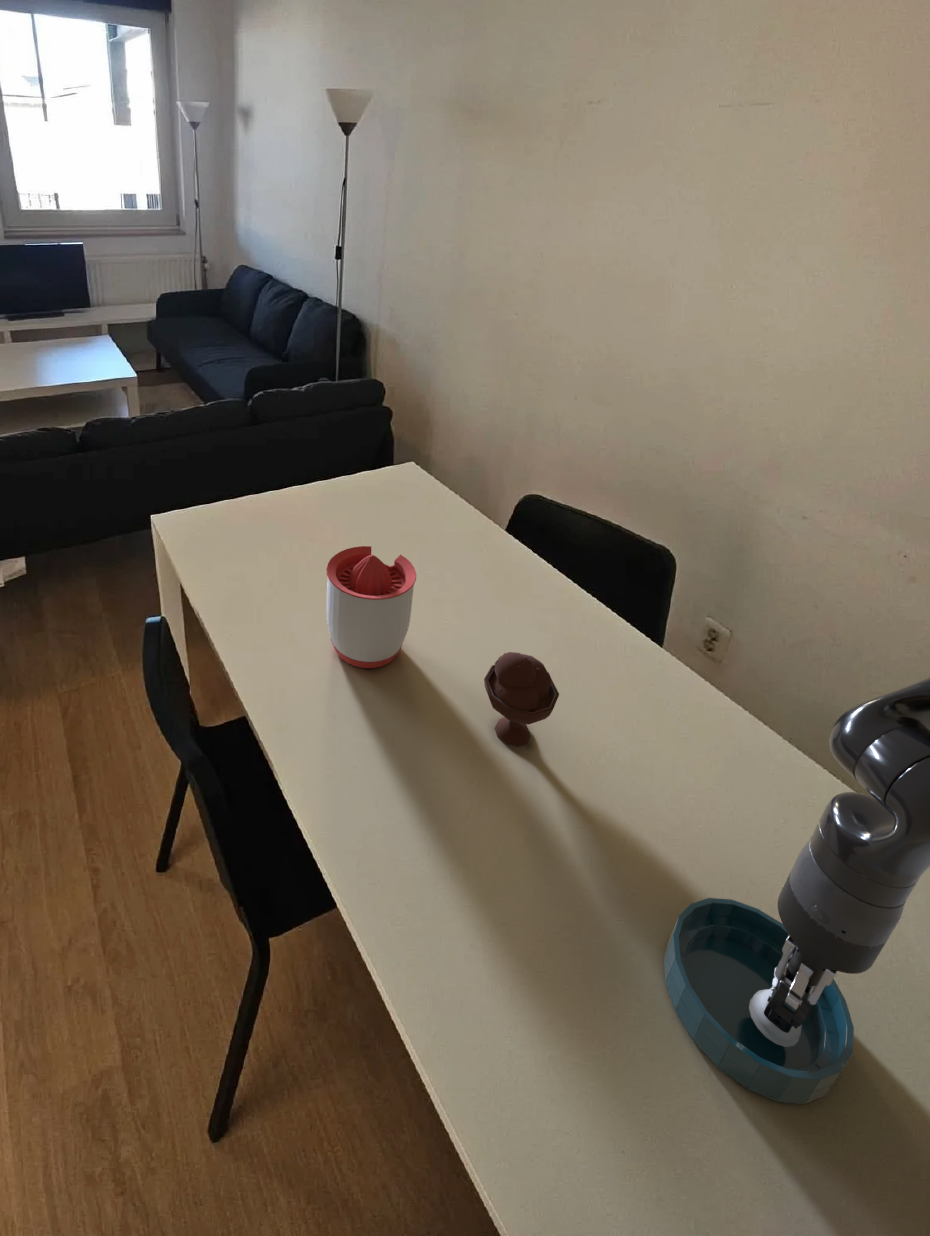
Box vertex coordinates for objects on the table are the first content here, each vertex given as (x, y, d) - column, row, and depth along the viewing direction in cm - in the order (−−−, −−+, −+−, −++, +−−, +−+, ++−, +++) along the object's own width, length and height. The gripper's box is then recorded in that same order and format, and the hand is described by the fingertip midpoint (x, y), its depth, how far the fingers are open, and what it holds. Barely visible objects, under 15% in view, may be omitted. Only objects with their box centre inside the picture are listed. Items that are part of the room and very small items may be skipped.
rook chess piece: (756, 986, 70) (779, 942, 67) (804, 1026, 67) (830, 981, 64) (740, 1019, 67) (763, 974, 64) (789, 1061, 64) (815, 1016, 61)
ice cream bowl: (521, 774, 96) (538, 697, 90) (463, 726, 104) (474, 652, 98) (562, 738, 102) (579, 663, 96) (503, 695, 110) (517, 624, 104)
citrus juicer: (422, 629, 125) (432, 540, 117) (391, 690, 110) (400, 593, 102) (347, 605, 131) (352, 519, 123) (308, 660, 116) (311, 566, 108)
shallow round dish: (778, 930, 77) (791, 903, 75) (875, 1113, 63) (894, 1086, 61) (640, 919, 78) (650, 892, 76) (704, 1098, 63) (718, 1071, 61)
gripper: (872, 996, 52) (804, 1104, 59) (907, 878, 61) (844, 985, 68) (768, 920, 57) (716, 1028, 64) (813, 821, 66) (763, 926, 73)
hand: (782, 1005), depth 66 cm, fingers closed on rook chess piece, 3 cm apart
